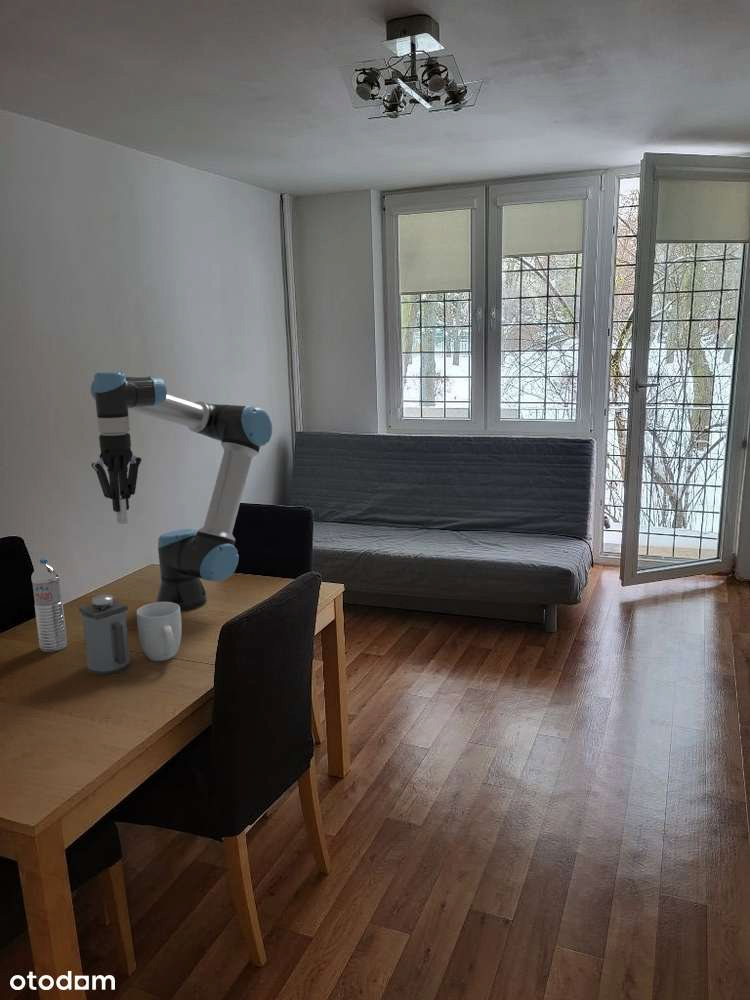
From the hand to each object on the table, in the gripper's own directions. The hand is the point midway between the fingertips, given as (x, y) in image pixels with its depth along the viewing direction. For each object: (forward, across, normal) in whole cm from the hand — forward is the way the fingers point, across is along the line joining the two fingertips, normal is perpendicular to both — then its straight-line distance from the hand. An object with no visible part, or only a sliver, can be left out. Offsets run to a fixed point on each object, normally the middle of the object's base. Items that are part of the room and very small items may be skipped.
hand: (122, 522), depth 192 cm
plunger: (+32, +11, +7) cm, 34 cm away
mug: (+35, -1, +13) cm, 37 cm away
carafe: (+34, +11, +8) cm, 37 cm away
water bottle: (+35, +15, -15) cm, 41 cm away
